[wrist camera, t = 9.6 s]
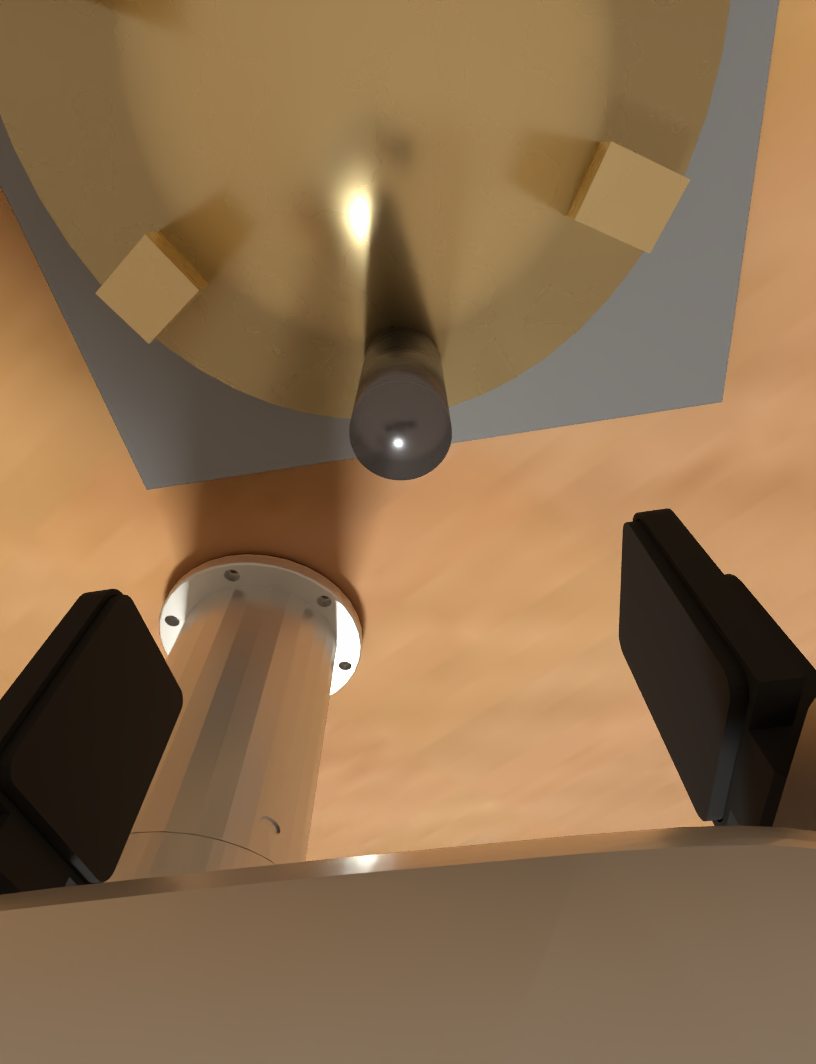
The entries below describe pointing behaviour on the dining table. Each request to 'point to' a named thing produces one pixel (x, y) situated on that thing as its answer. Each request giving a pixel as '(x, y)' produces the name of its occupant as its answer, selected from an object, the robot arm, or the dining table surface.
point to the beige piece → (360, 182)
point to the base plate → (514, 407)
